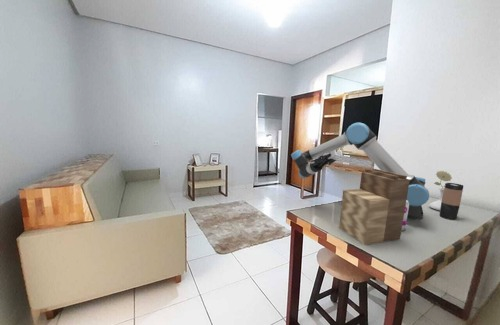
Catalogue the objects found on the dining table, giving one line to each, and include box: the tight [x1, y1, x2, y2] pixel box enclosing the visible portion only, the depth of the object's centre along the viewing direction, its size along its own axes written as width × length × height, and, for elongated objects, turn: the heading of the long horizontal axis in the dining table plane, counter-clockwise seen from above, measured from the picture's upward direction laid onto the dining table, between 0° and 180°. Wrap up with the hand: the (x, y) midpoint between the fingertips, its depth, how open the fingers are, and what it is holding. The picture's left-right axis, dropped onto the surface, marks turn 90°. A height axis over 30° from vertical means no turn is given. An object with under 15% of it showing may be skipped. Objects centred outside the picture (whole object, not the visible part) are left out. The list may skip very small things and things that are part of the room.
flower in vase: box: [428, 170, 453, 211], centre depth 131 cm, size 13×11×25 cm
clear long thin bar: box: [323, 152, 373, 168], centre depth 106 cm, size 30×3×2 cm, turn 16°
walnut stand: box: [338, 168, 410, 246], centre depth 96 cm, size 16×20×30 cm
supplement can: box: [401, 200, 409, 232], centre depth 104 cm, size 8×8×15 cm
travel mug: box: [439, 182, 464, 221], centre depth 118 cm, size 8×8×20 cm
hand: (338, 152), depth 110 cm, fingers closed on clear long thin bar, 3 cm apart
